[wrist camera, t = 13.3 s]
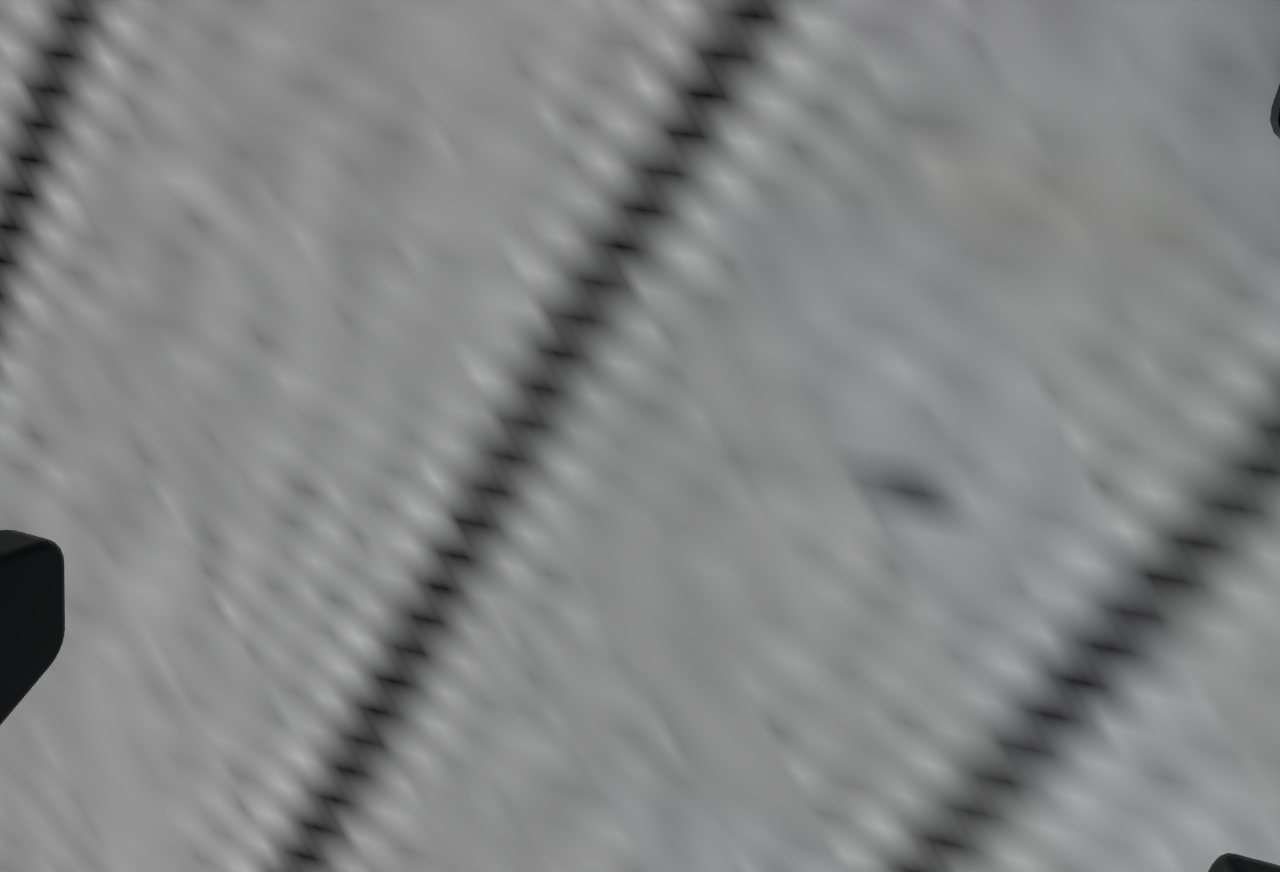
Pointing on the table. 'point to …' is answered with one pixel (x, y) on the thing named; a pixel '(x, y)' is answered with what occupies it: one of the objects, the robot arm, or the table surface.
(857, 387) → the table surface
